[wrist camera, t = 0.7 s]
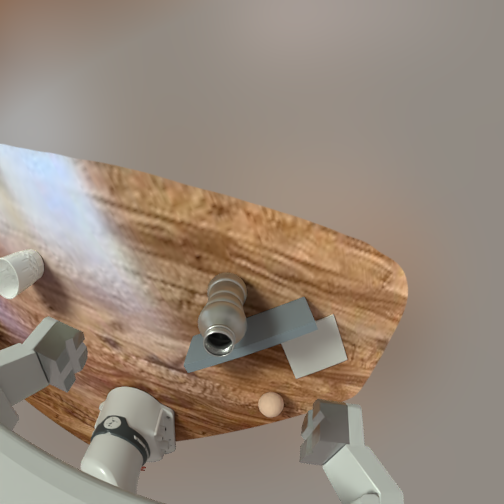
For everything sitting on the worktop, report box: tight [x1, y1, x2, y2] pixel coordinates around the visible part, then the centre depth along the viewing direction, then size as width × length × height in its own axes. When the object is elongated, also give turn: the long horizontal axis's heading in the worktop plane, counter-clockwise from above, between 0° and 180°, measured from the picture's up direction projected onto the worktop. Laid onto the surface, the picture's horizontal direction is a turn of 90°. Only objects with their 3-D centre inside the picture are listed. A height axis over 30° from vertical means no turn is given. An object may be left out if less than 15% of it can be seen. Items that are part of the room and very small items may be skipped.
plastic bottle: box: [198, 273, 247, 357], centre depth 46 cm, size 6×7×20 cm
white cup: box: [0, 249, 44, 299], centre depth 50 cm, size 8×8×10 cm
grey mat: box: [281, 314, 347, 379], centre depth 59 cm, size 11×11×1 cm
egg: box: [258, 392, 284, 417], centre depth 59 cm, size 5×5×6 cm
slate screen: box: [184, 297, 318, 373], centre depth 53 cm, size 6×22×10 cm, turn 112°
